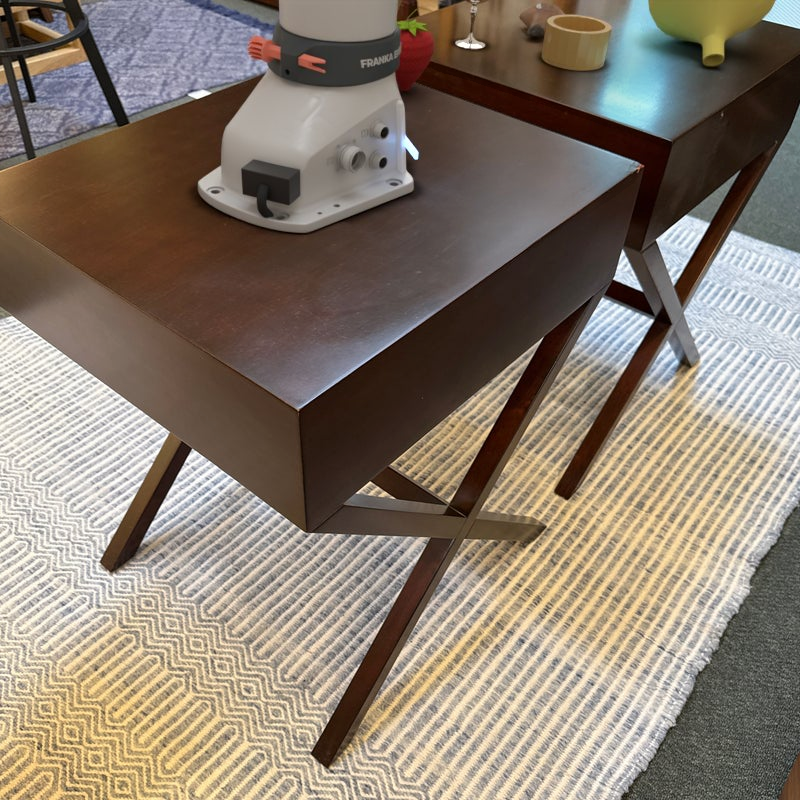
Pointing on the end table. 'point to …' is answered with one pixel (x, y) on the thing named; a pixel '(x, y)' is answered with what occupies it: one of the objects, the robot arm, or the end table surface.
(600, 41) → the tape roll
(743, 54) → the end table surface
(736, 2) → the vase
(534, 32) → the oil lamp
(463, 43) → the wineglass
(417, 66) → the strawberry
